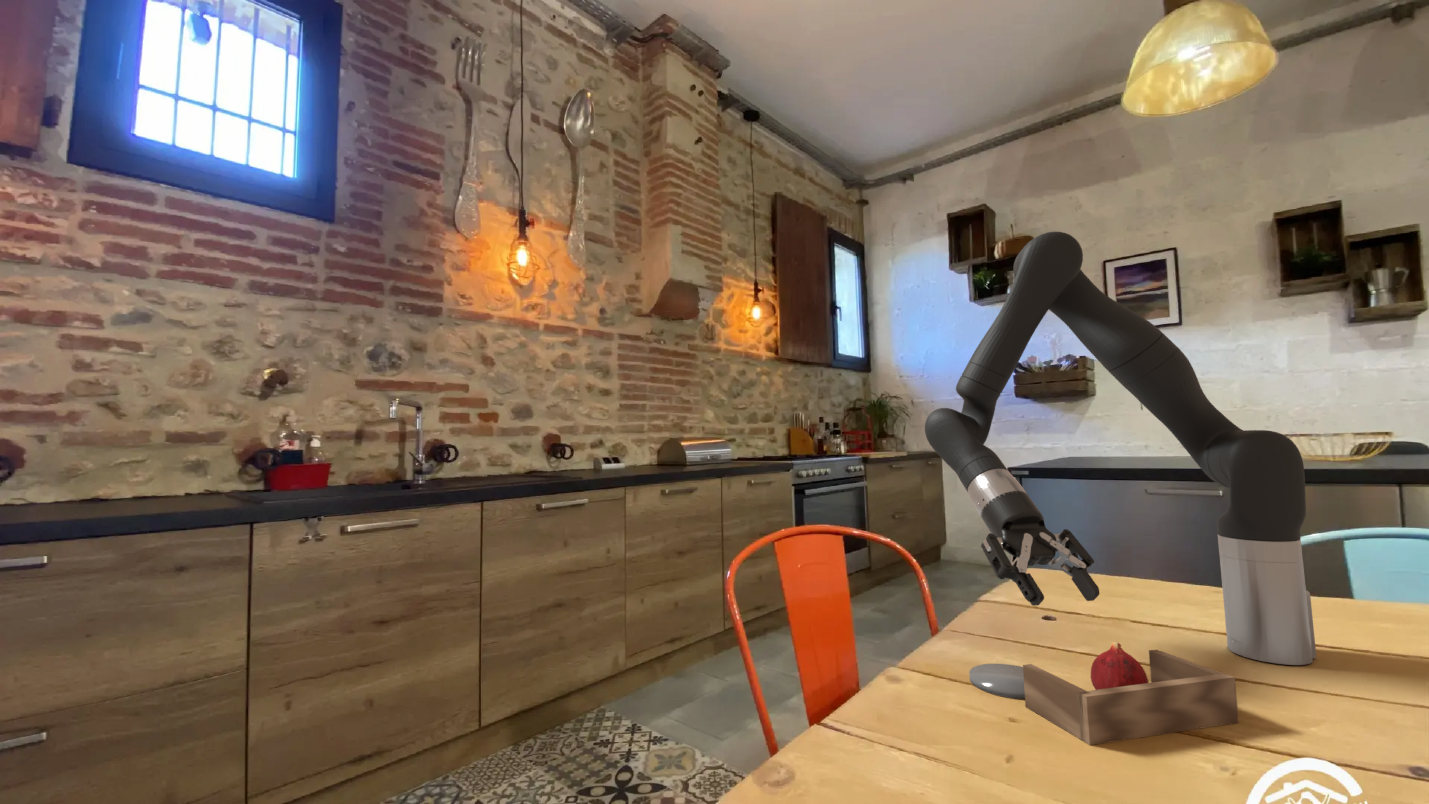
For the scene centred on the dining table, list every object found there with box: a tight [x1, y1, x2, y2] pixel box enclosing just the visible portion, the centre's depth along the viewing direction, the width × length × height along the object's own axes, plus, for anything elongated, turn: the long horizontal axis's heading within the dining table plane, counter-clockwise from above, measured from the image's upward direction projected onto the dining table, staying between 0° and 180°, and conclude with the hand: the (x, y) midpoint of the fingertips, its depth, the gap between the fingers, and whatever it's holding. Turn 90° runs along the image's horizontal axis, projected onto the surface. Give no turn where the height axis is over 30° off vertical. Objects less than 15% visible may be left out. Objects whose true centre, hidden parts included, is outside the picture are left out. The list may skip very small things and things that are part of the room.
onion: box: [1090, 641, 1149, 690], centre depth 71 cm, size 6×6×8 cm
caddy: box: [1022, 649, 1240, 746], centre depth 70 cm, size 20×10×5 cm, turn 102°
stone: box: [968, 663, 1025, 700], centre depth 80 cm, size 10×10×1 cm
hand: (1067, 600), depth 79 cm, fingers open, 8 cm apart
